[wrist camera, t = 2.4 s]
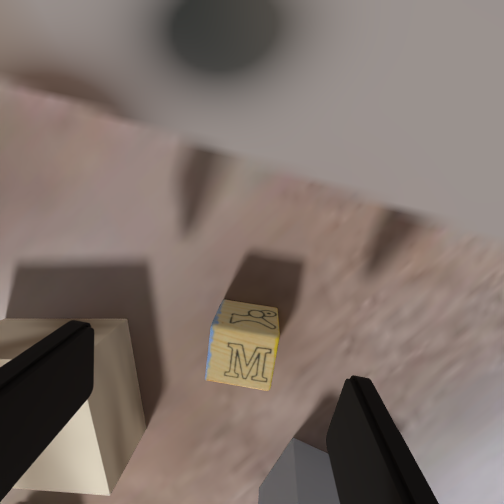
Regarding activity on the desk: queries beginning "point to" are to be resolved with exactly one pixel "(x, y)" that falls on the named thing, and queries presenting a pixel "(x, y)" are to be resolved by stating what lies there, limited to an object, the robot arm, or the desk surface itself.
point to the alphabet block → (243, 345)
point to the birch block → (86, 411)
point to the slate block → (300, 477)
